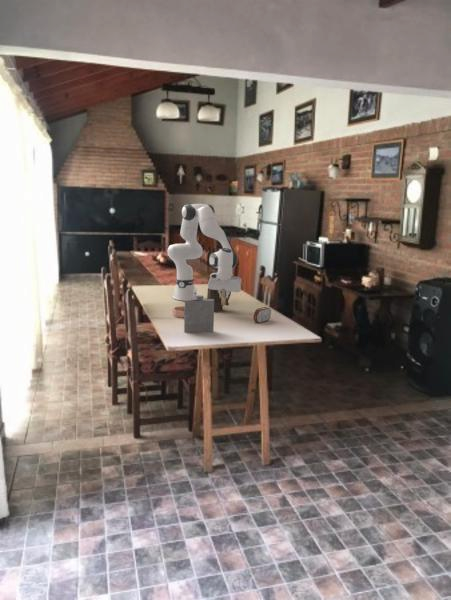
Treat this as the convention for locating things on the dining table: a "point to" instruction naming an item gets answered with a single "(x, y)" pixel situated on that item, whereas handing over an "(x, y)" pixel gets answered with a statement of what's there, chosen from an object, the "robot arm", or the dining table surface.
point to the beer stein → (217, 299)
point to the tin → (262, 314)
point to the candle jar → (178, 311)
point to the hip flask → (199, 315)
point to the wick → (223, 297)
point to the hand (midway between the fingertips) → (223, 297)
